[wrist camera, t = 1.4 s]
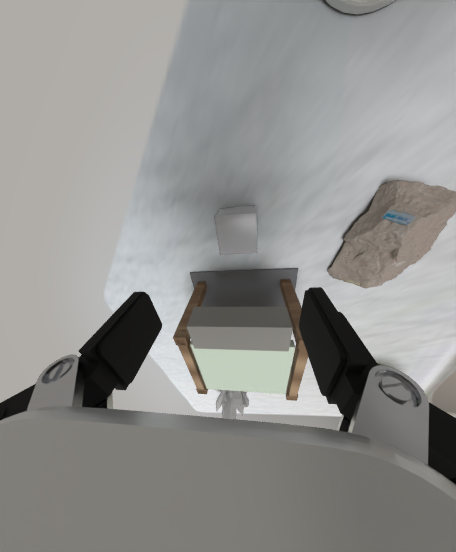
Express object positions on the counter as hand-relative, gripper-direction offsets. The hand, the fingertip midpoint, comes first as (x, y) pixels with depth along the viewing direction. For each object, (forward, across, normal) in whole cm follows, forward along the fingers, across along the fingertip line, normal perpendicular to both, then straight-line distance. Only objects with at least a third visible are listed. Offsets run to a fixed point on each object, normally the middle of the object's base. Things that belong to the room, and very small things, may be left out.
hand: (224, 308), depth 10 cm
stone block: (+18, 0, 0) cm, 18 cm away
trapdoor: (+7, 0, +15) cm, 17 cm away
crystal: (+18, +5, +52) cm, 55 cm away
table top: (+18, 0, +18) cm, 25 cm away
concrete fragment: (+18, -19, +3) cm, 26 cm away
